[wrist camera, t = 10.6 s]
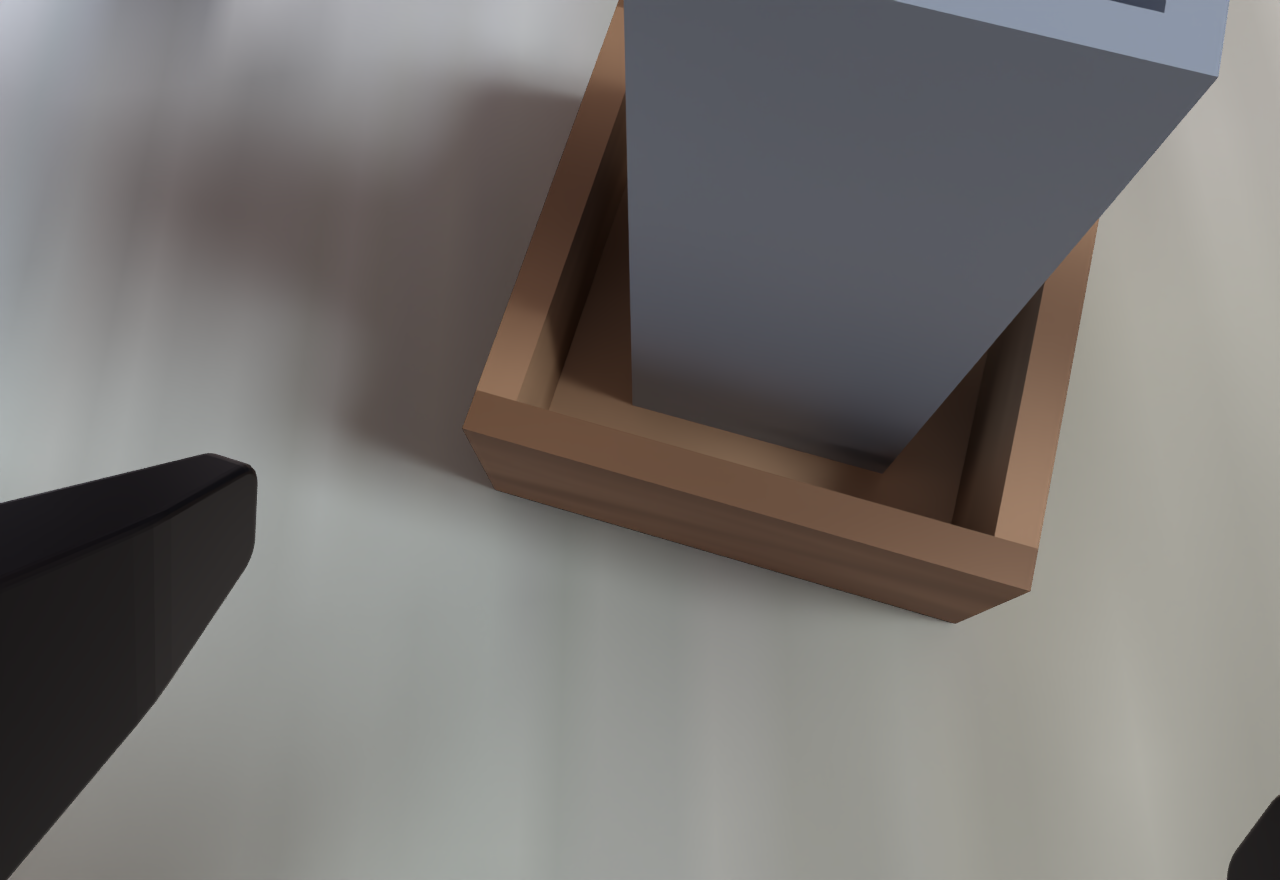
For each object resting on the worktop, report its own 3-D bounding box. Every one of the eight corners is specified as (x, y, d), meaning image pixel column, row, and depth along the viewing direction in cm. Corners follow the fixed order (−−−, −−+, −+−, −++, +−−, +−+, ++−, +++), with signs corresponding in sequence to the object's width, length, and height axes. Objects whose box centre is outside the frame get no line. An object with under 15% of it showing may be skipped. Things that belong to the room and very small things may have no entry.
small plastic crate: (882, 473, 20) (1218, 76, 8) (632, 405, 20) (622, -65, 9) (933, 249, 21) (1281, -356, 10) (699, 188, 22) (766, -459, 10)
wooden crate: (955, 623, 20) (1029, 591, 16) (495, 489, 21) (462, 428, 17) (1039, 209, 23) (1121, 97, 19) (629, 104, 23) (627, -23, 20)
